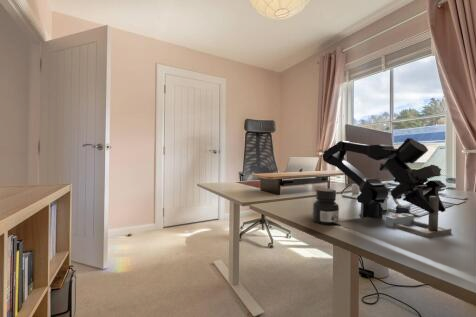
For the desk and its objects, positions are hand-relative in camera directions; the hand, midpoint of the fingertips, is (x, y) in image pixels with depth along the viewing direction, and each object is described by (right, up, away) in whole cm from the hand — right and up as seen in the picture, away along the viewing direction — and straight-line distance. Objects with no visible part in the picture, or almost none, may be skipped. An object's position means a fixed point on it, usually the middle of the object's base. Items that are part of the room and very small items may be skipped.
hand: (439, 212), depth 68 cm
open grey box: (-2, -8, +6) cm, 10 cm away
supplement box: (+2, -7, +36) cm, 37 cm away
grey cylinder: (-1, -7, +1) cm, 7 cm away
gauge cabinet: (-4, -8, +11) cm, 14 cm away
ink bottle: (-28, -8, +16) cm, 33 cm away
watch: (+10, -8, +28) cm, 31 cm away
